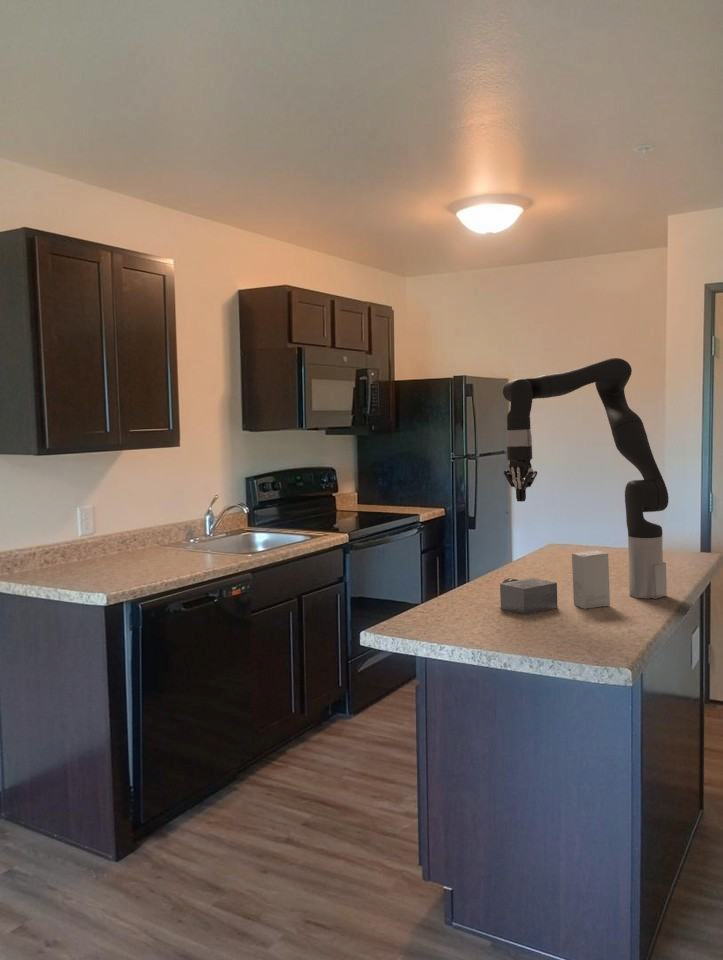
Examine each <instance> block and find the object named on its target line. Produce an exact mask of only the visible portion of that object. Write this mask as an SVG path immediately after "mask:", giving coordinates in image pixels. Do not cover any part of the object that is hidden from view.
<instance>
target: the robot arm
mask: <svg viewBox="0 0 723 960" xmlns="http://www.w3.org/2000/svg"><path fill="white" fill-rule="evenodd" d="M632 370H633V369H632V367H631V364H630V363H629V362H628V361H626V360H625V359H623V358H618V357H612V358H607V359H605V360H601V361H598V362H595V363H592V364H589V365H585V366H581V367H579V368H575V369H571V370H568V371H563V372H557V373H555V372H554V373H550V374H549V373H548V374H545V375H539V376H536V377H529V378H516V379H511V380H509V381H508V382H506V383H505V385H504V386H503V388H502V394H503V397H504V399H505V400H506V401H508V402H509V403H510V408H509V412H508V413H507V415H506V427H507V428H506V430H507V431H506V454H507V455H506V457H507V458H506V460H507V461H509V464H508V468H507V470H504V471H503V474H504V476H505V478H506V480H507V481H508V483H509V485H510V487H511V488H514V489H515V499H516V501H517V502H525V501H526V499H527V491H526V490H527V489H528V488H531V486H532V484H533V483H534V481H535V479H536V477H537V475H538V471H537V470H533V468H532V464H531V460H532V459H533V440H532V431H531V412H532V406H533V400H535V399H550V398H555V397H556V398H557V397H561V396H566V395H568V394H570V393H572V392H574V391H576V390H578V389H580V388H583V387H584V386H585V387H586V386H588V385H590V384H593V383H594V384H595V388H596V391H597V394H598V396H599V398H600V399H601V402H602V405H603V407H604V410H605V413H606V417H607V420H608V423H609V426H610V430H611V434H612V435H611V436H612V437H613V441H614V445H615V447H616V449H617V451H618V452H619V453H620V454H621V456H623V457H624V458H625V459H626V460H627V461H628V462H629V463H631V464H632V465H633V467H635V468H636V470H638V472H639V473H640V474H641V476H642V478H643V479H633V480H630V481H628V482H627V484H626V485H625V490H624V503H625V515H626V516H625V518H626V528H627V545H628V549H627V551H628V552H627V553H628V585H629V587H628V590H629V592H628V593H629V596H630V597H632V598H636V599H637V598H638V599H650V598H653V599H654V600H655V599H656V600H657V598H658V599H660V598H663V597H666V596H667V563H666V562H665V561H664V551H663V541H664V540H663V528H662V526H661V525H659V524H657V523H655V522H653V523H652V522H650V521H648V520H646V519H645V517H644V513H652V512H653V513H654V512H661V511H664V510H666V509H667V507H668V506H669V493H668V489H667V486H666V482H665V481H664V478H663V476H662V473H661V471H660V469H659V467H658V465H657V462H656V460H655V458H654V455H653V454H654V453H653V452H652V449H651V448H652V447H651V446H650V442H649V437H648V435H647V431H646V428H645V426H644V422H643V420H642V419H641V417H640V416H639V415H638V414H637V413H636V412H635V411H634V410H633V409H631V408H630V406H629V405H628V402H627V398H626V393H625V388H626V385H628V382H629V380H630V378H631V377H632V376H631V375H632Z"/></svg>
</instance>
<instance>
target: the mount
mask: <svg viewBox="0 0 723 960" xmlns="http://www.w3.org/2000/svg"><path fill="white" fill-rule="evenodd" d="M517 580H518V581H512V582H507V583H503V582H502V583H500V584H499V593H500V595H499V596H500V609H501V610H504V609H505V611H508V610H509V611H508V612H511V611H512V613H515V612H516V613H515V614H519V613H520V615H523V614H524V615H523V616H526V615H525V614H527V615H531V614H530V613H532V614H535V612H536V613H540V612H539V611H541V612H545V610H546V611H550V610H555V609H558V607H559V605H558V583H557V582H555V581H549V580H544V579H540V578H535V577H530V578H524V579H517ZM554 608H555V609H554ZM549 609H550V610H549Z"/></svg>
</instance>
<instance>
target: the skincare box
mask: <svg viewBox="0 0 723 960" xmlns="http://www.w3.org/2000/svg"><path fill="white" fill-rule="evenodd" d="M609 564H610V563H609V553H608V552H604V551H601V550H598V549H596V550H589V551H581V552H573V553H571V565H572V566H571V567H572V592H573V605H574V606H576V607H578V606H579V608H581V609H583V608H584V609H583V610H587V608H588V609H594V608H601V607H602V606H603V607H607V606H611V599H610V597H611V596H610V567H609Z"/></svg>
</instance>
